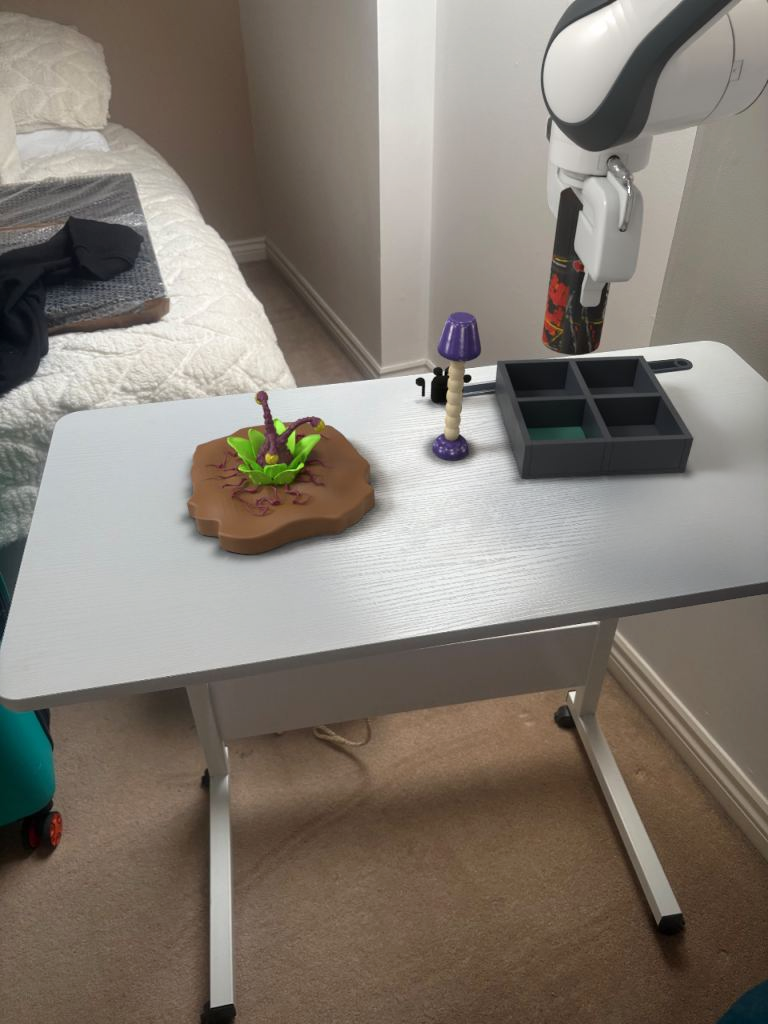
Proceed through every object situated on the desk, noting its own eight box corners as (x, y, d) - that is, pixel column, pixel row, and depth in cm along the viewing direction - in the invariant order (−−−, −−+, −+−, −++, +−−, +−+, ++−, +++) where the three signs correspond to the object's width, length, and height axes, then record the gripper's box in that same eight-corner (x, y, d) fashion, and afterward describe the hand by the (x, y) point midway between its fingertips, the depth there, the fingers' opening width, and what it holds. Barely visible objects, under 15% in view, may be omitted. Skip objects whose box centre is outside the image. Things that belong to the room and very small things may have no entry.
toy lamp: (446, 433, 99) (452, 303, 88) (480, 446, 97) (491, 314, 86) (425, 453, 96) (429, 320, 85) (460, 466, 94) (468, 332, 83)
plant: (338, 424, 101) (334, 341, 93) (395, 521, 86) (395, 431, 79) (172, 458, 95) (154, 372, 88) (204, 567, 81) (185, 476, 74)
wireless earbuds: (469, 396, 105) (471, 361, 102) (472, 407, 103) (475, 371, 100) (414, 400, 105) (415, 365, 102) (417, 411, 103) (418, 375, 100)
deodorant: (604, 355, 84) (631, 206, 75) (545, 355, 84) (565, 206, 75) (594, 328, 89) (618, 185, 79) (538, 327, 89) (556, 184, 79)
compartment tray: (636, 387, 107) (643, 355, 104) (684, 472, 93) (693, 438, 90) (494, 392, 106) (497, 360, 103) (521, 479, 92) (525, 445, 89)
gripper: (673, 178, 66) (641, 335, 75) (606, 111, 82) (585, 247, 91) (595, 180, 66) (572, 337, 75) (542, 112, 82) (528, 249, 90)
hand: (579, 287), depth 83 cm, fingers closed on deodorant, 6 cm apart
